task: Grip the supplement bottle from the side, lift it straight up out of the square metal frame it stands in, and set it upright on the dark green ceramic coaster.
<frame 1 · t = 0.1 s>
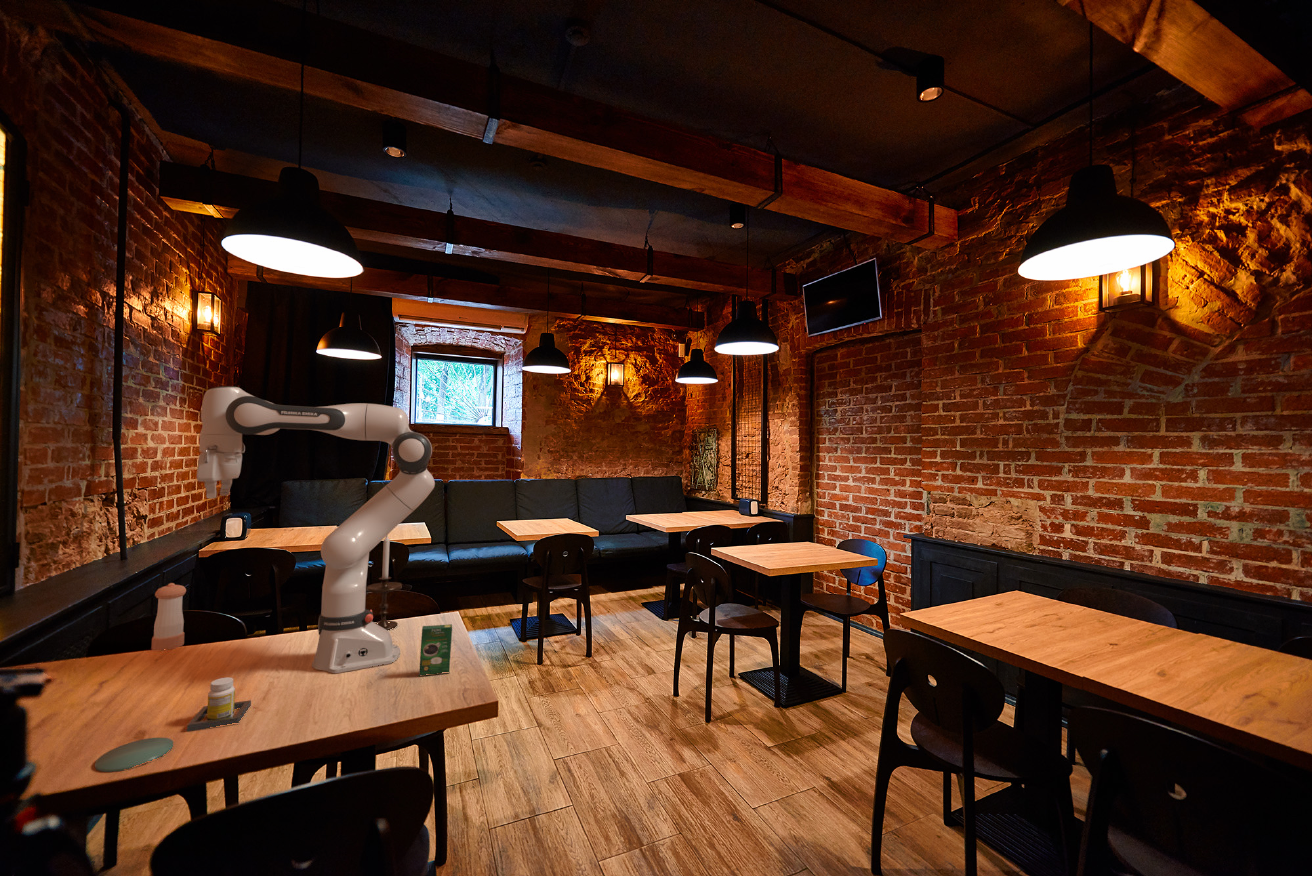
hand: (218, 496, 142), 48 cm above the table, tool pointing down, fingers open, 8 cm apart
supplement bottle: (220, 719, 119), resting in square metal frame
candlestick: (382, 628, 183), on the table
coffee box: (434, 674, 146), on the table
square metal frame: (220, 718, 119), on the table
pepper shaker: (167, 647, 161), on the table
green coaster: (135, 755, 104), on the table
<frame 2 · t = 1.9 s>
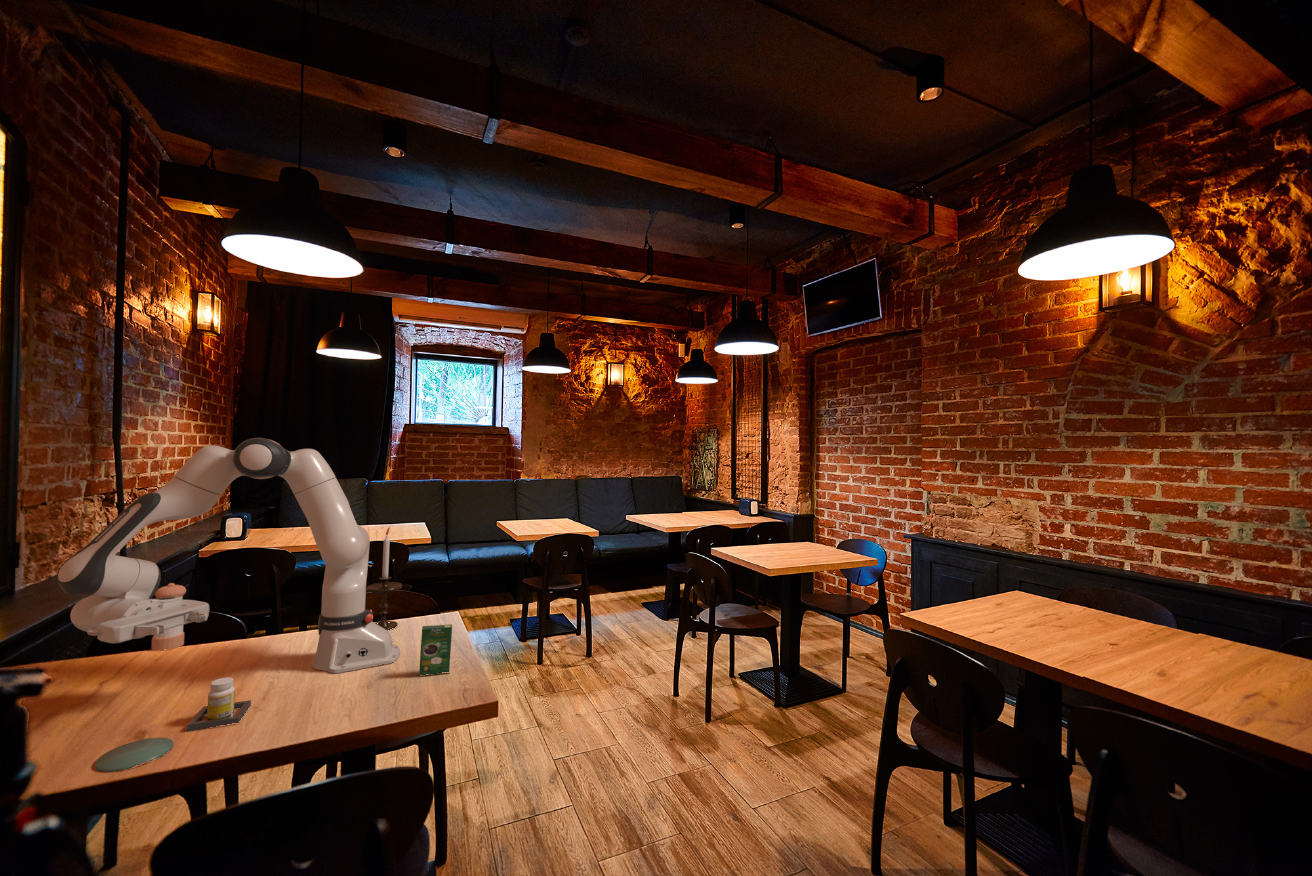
hand: (183, 624, 123), 20 cm above the table, tool horizontal, fingers open, 8 cm apart
nothing on the table moved.
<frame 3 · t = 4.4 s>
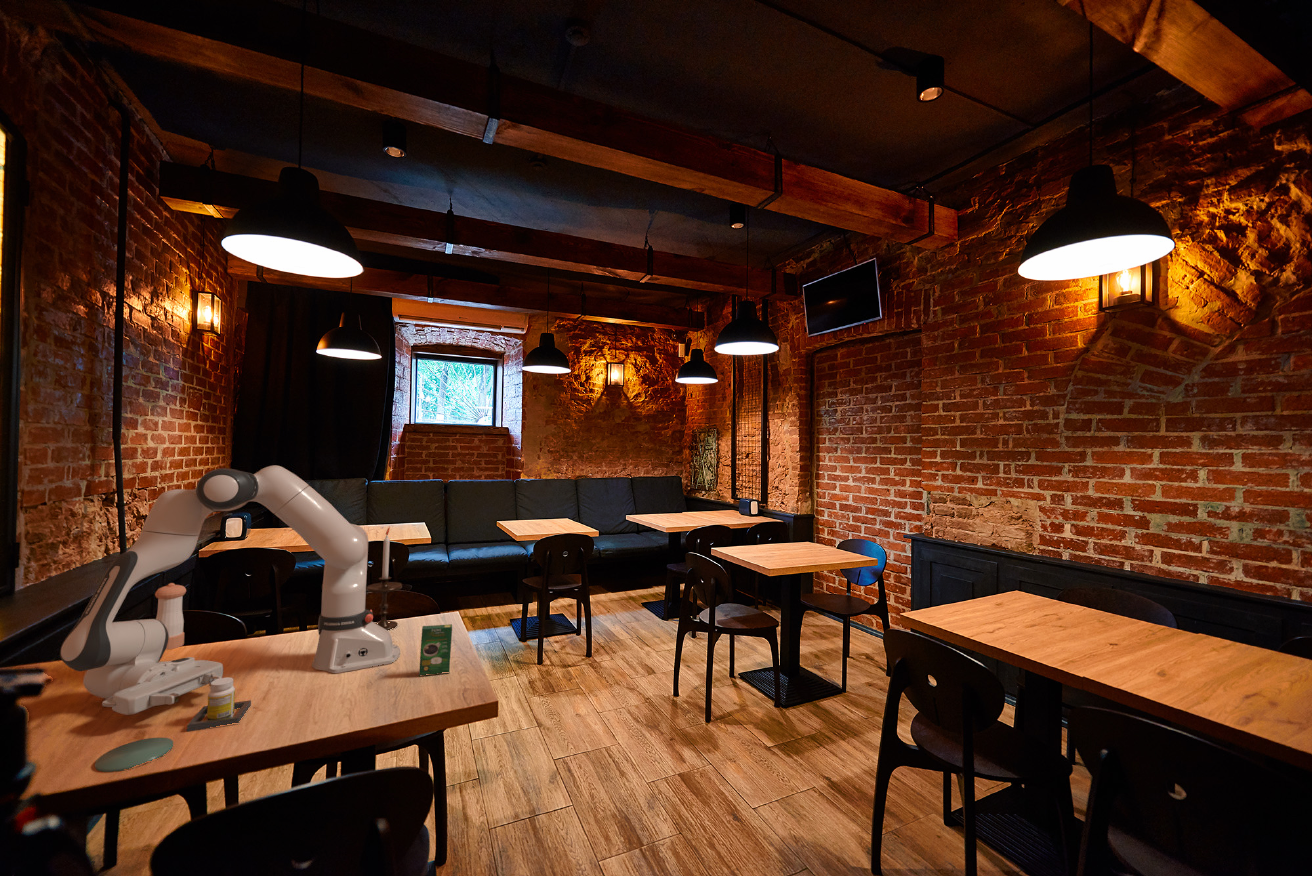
hand: (198, 690, 121), 5 cm above the table, tool horizontal, fingers open, 8 cm apart
nothing on the table moved.
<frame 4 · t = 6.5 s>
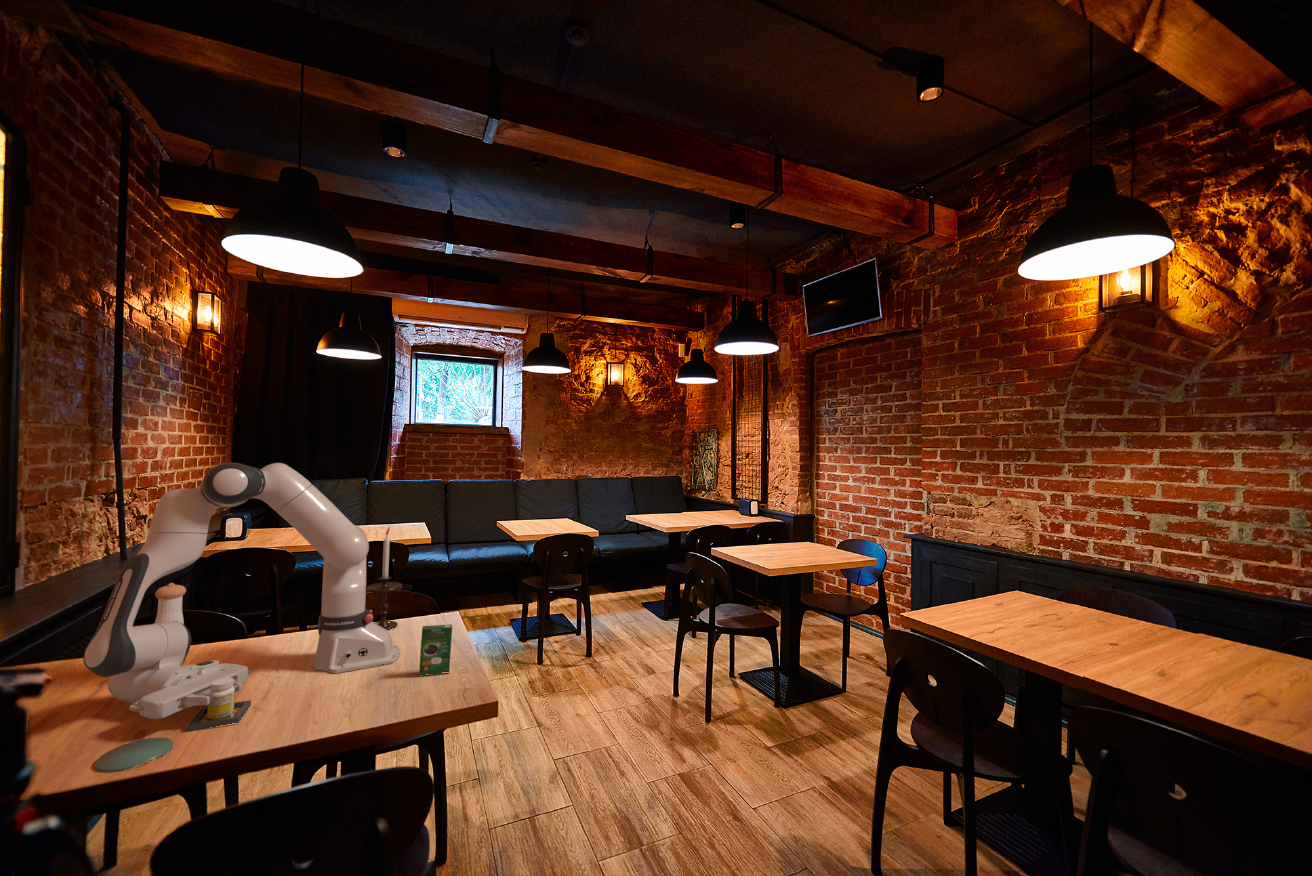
hand: (225, 694, 119), 6 cm above the table, tool horizontal, fingers closed on supplement bottle, 5 cm apart
supplement bottle: (220, 719, 119), resting in square metal frame, touching gripper
everything else where it was.
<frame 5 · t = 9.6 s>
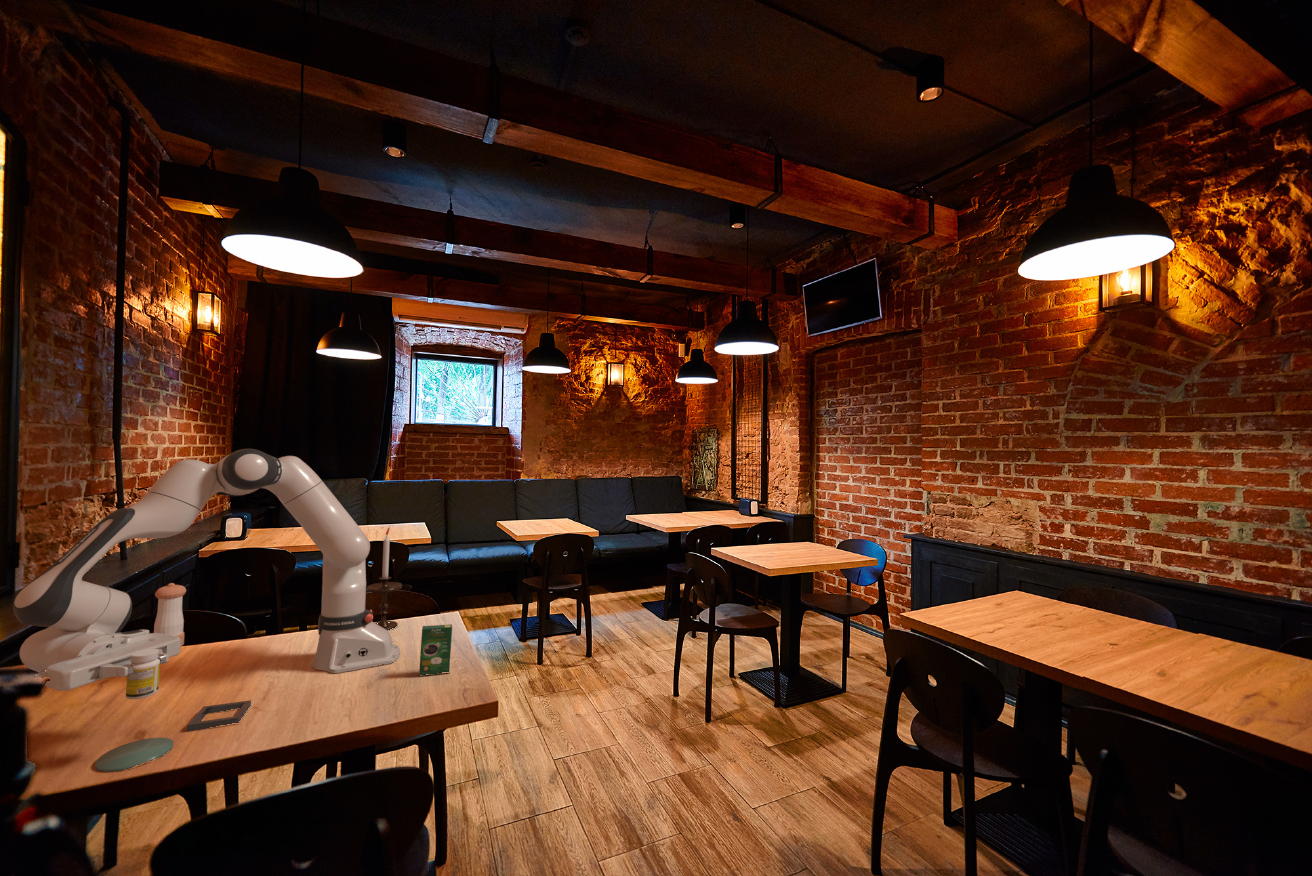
hand: (147, 665, 106), 17 cm above the table, tool horizontal, fingers closed on supplement bottle, 5 cm apart
supplement bottle: (141, 695, 106), point 11 cm above the table, touching gripper
everything else where it was.
when the fingers open (7 cm above the table, at t = 12.3 s): supplement bottle stays where it is, resting on green coaster.
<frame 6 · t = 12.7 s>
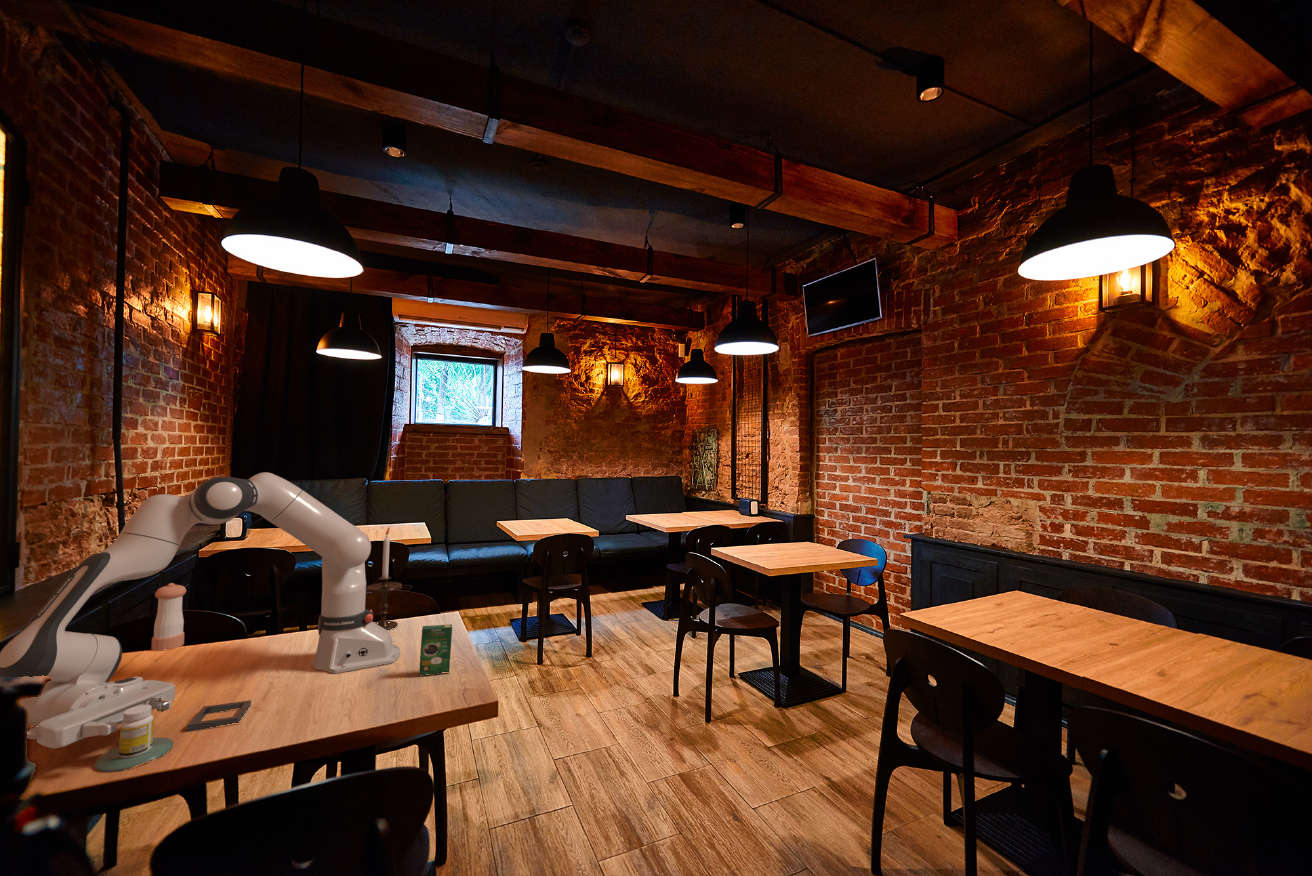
hand: (141, 717, 104), 8 cm above the table, tool horizontal, fingers open, 8 cm apart
supplement bottle: (135, 753, 104), resting on green coaster
everything else where it was.
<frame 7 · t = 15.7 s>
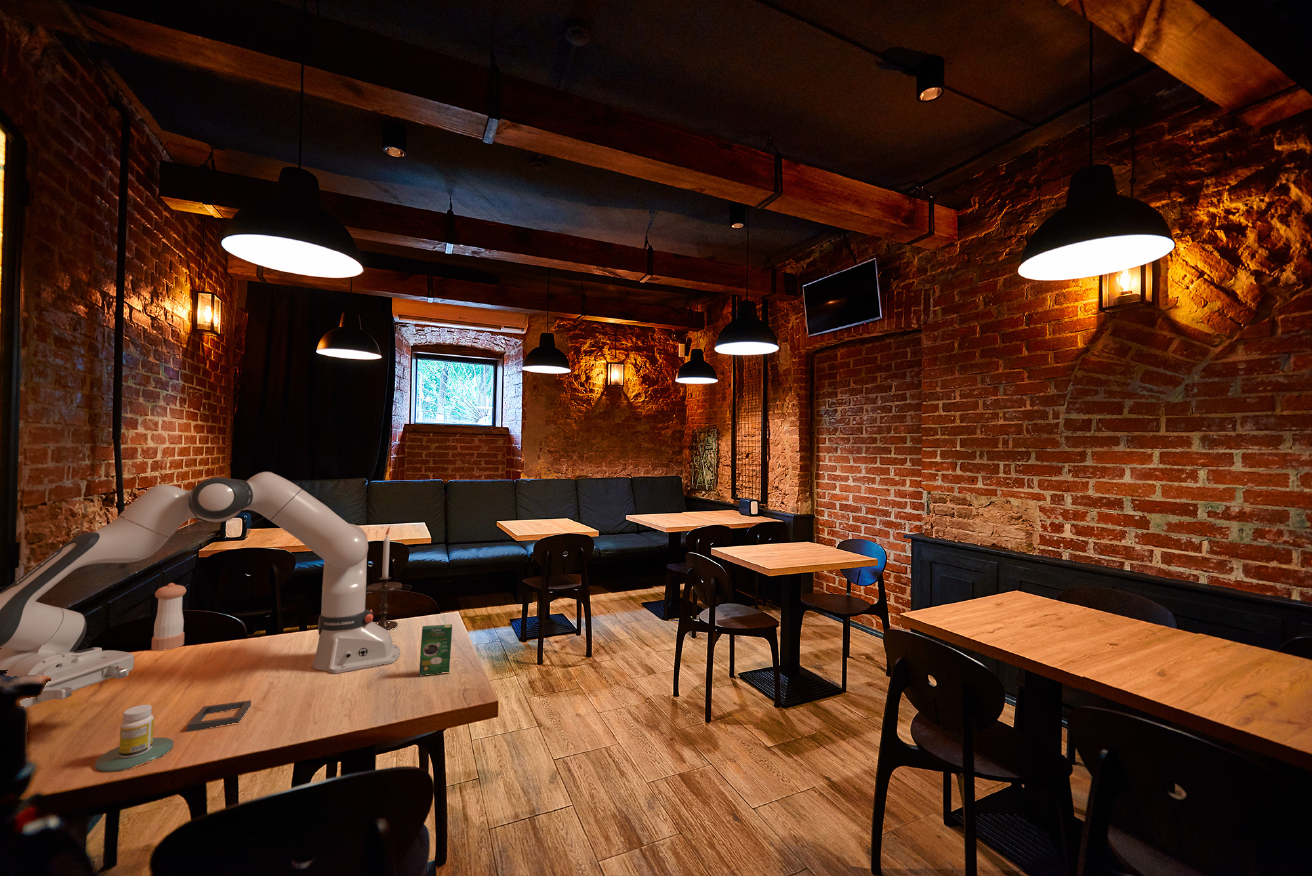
hand: (97, 683, 108), 13 cm above the table, tool horizontal, fingers open, 8 cm apart
nothing on the table moved.
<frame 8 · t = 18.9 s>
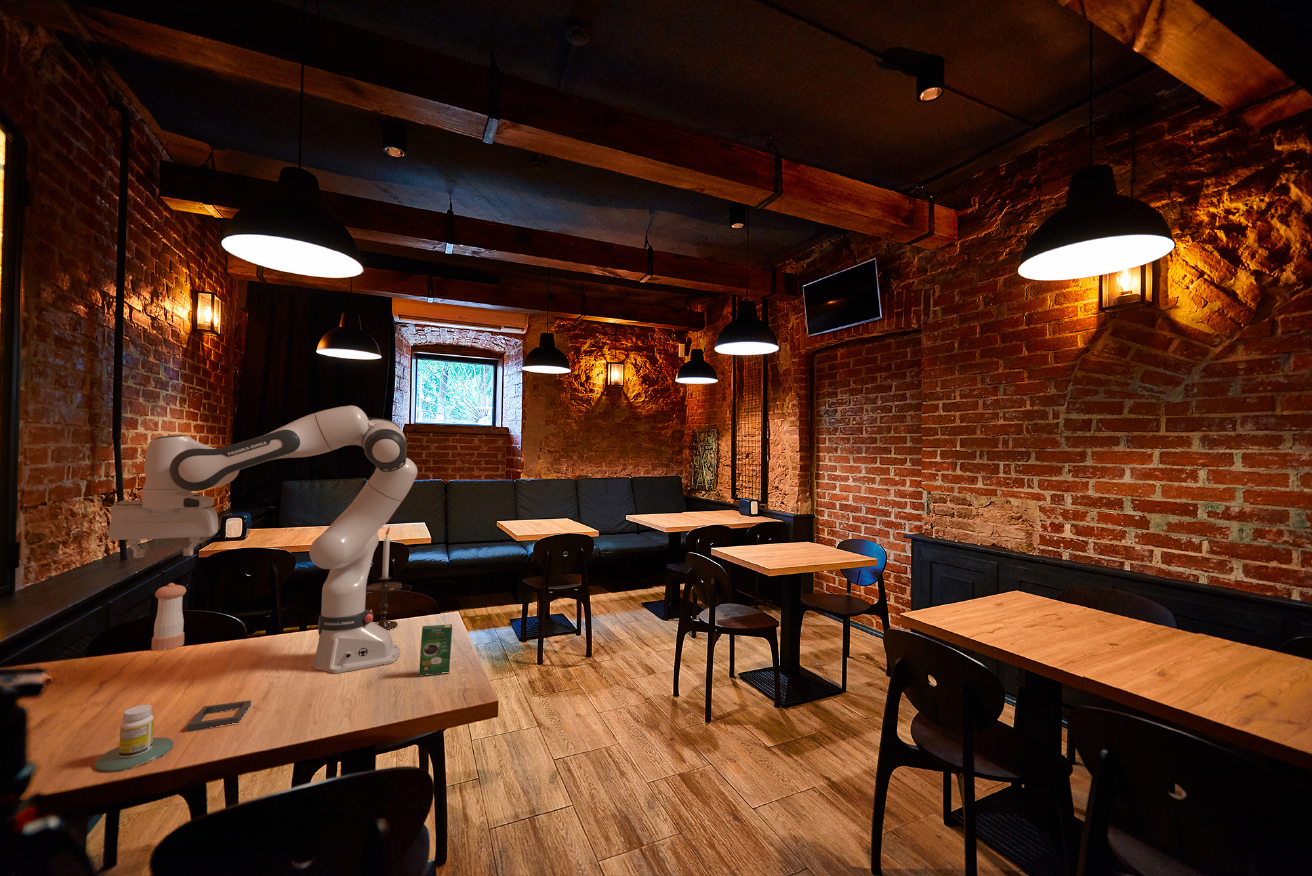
hand: (163, 556, 130), 34 cm above the table, tool pointing down, fingers open, 8 cm apart
nothing on the table moved.
at the end: supplement bottle 0.1 cm off-centre on the green coaster, point 0.4 cm above the green coaster's base; supplement bottle tilted 0°; supplement bottle touching green coaster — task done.
